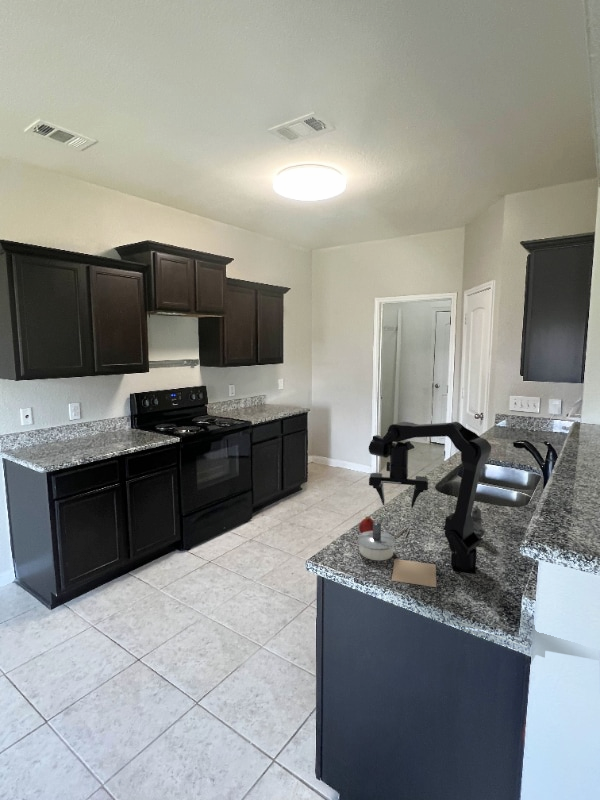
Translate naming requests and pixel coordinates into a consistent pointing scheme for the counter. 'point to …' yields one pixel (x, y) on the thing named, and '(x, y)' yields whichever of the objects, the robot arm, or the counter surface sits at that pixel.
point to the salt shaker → (477, 523)
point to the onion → (366, 525)
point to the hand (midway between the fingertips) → (397, 506)
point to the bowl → (376, 553)
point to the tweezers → (401, 533)
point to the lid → (376, 538)
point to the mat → (414, 572)
